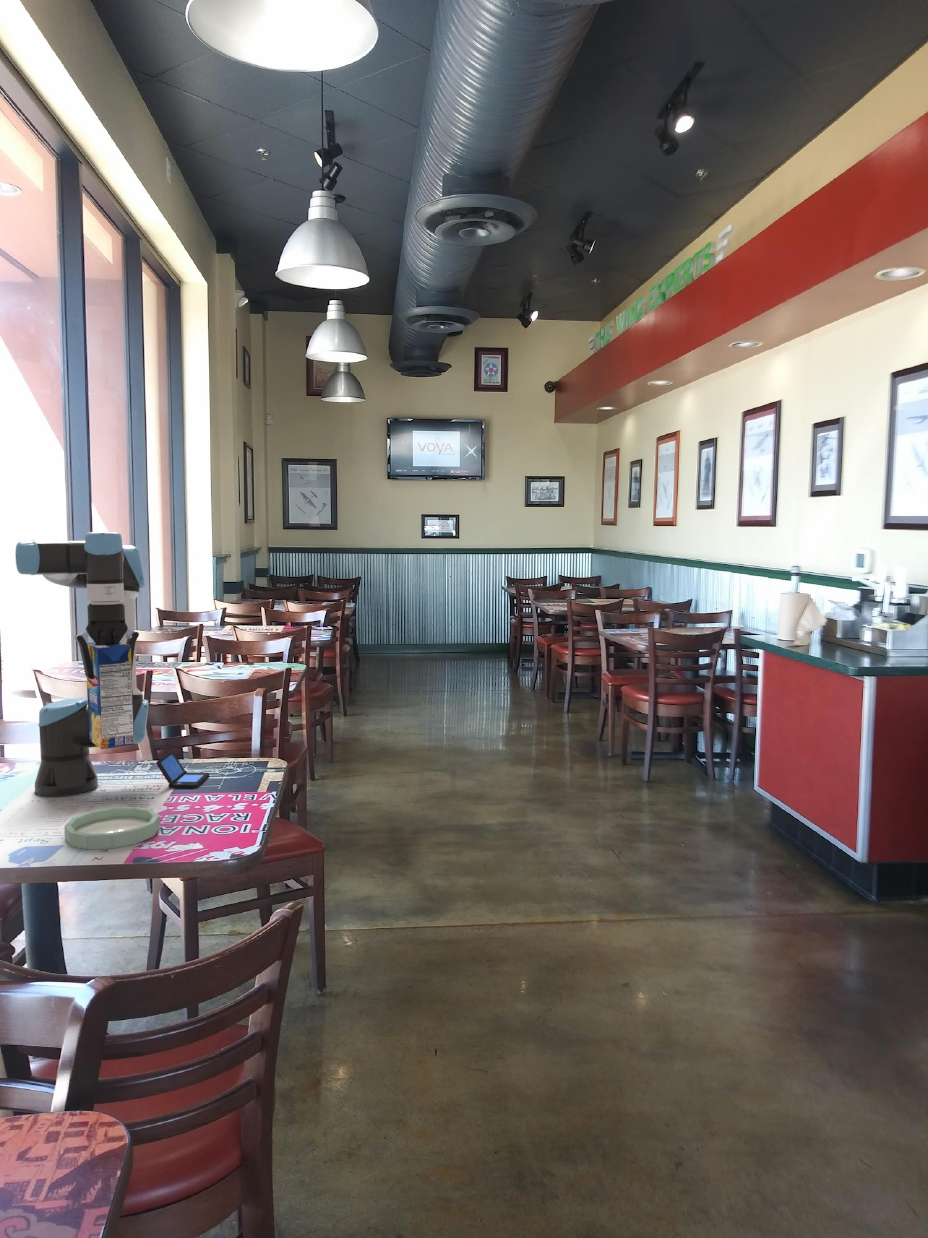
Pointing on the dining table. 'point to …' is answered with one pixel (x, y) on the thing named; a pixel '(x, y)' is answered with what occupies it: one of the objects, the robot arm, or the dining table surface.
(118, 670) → the beverage box
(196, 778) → the handheld game console
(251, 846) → the dining table surface
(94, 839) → the round tray
